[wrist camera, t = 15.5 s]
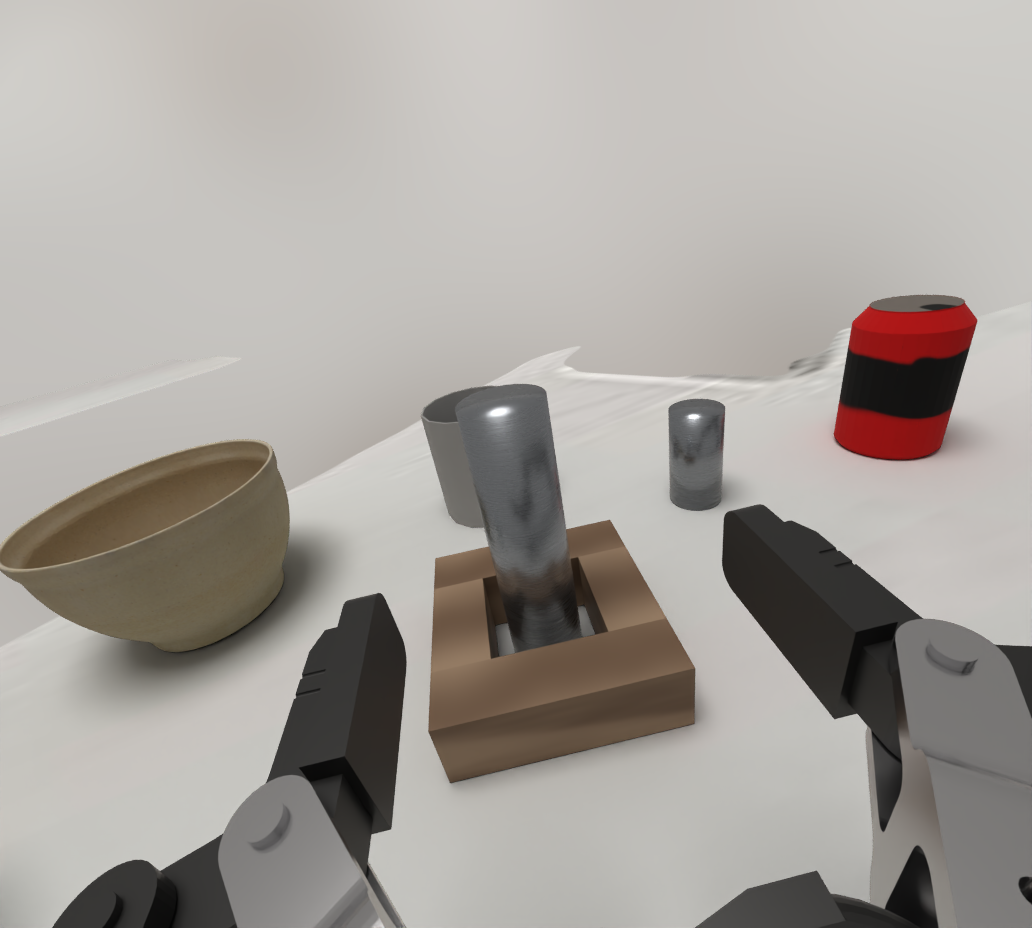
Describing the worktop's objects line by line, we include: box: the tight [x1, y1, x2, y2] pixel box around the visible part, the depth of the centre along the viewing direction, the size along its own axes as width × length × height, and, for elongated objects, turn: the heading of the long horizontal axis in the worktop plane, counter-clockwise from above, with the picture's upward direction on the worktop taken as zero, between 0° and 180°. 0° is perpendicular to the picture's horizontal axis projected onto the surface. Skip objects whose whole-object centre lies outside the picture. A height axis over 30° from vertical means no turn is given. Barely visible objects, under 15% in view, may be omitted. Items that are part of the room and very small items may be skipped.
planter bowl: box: [0, 439, 290, 652], centre depth 34 cm, size 16×16×11 cm
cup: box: [421, 386, 498, 528], centre depth 41 cm, size 8×8×10 cm
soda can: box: [834, 295, 977, 460], centre depth 38 cm, size 8×8×12 cm
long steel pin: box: [455, 384, 582, 653], centre depth 23 cm, size 4×4×16 cm
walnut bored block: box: [428, 520, 695, 783], centre depth 26 cm, size 12×12×4 cm
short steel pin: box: [669, 399, 725, 511], centre depth 37 cm, size 4×4×8 cm
